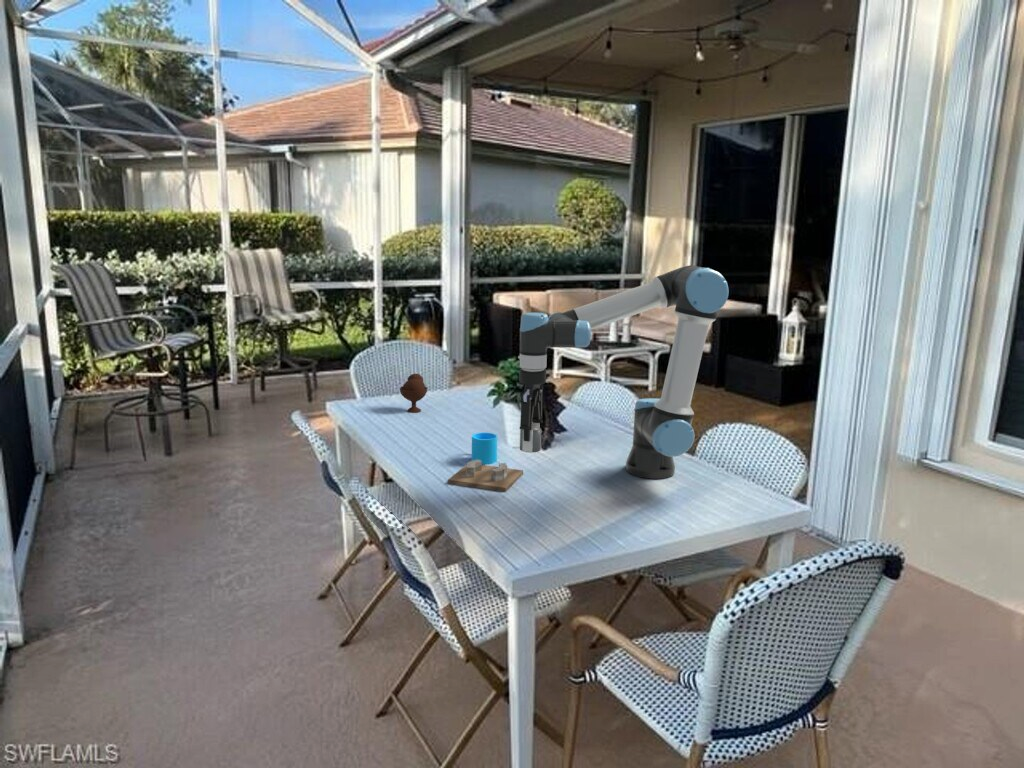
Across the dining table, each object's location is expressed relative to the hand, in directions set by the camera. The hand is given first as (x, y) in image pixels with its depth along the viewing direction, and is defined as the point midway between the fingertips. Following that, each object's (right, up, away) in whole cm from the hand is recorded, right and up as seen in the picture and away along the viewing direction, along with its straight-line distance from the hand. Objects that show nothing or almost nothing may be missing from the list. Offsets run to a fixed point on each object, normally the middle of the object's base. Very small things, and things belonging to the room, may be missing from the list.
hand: (530, 447), depth 213 cm
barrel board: (-13, -10, +11) cm, 20 cm away
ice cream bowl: (-44, +7, +84) cm, 96 cm away
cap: (0, 0, 0) cm, 0 cm away
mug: (-15, -6, +29) cm, 34 cm away
